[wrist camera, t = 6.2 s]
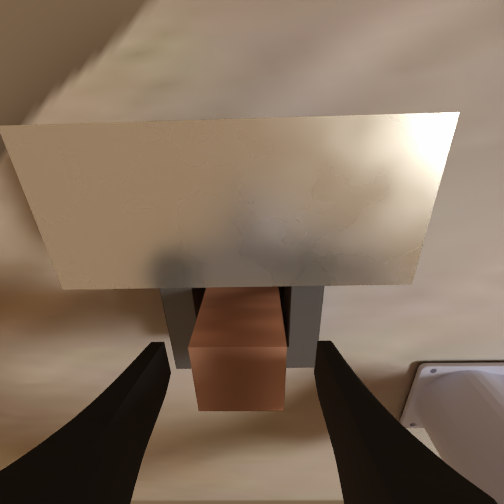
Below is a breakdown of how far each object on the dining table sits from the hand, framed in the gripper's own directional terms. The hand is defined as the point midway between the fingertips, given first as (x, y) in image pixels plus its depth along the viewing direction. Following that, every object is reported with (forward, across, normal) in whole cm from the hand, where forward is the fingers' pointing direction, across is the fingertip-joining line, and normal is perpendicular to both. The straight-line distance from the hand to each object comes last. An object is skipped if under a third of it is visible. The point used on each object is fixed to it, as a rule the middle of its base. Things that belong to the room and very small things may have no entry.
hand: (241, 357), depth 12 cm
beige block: (+7, 0, -7) cm, 10 cm away
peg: (+7, 0, 0) cm, 7 cm away
